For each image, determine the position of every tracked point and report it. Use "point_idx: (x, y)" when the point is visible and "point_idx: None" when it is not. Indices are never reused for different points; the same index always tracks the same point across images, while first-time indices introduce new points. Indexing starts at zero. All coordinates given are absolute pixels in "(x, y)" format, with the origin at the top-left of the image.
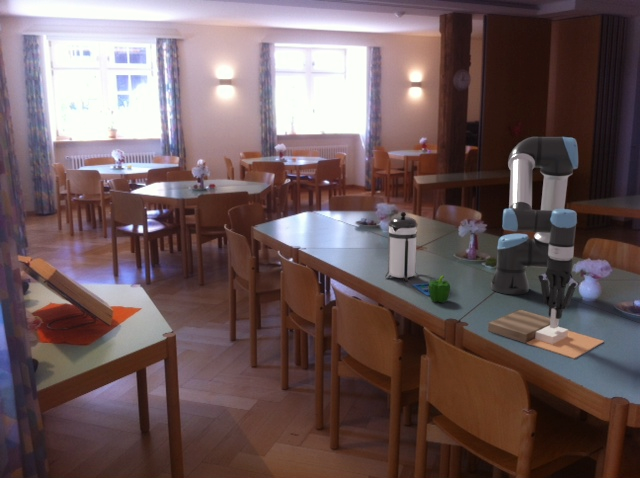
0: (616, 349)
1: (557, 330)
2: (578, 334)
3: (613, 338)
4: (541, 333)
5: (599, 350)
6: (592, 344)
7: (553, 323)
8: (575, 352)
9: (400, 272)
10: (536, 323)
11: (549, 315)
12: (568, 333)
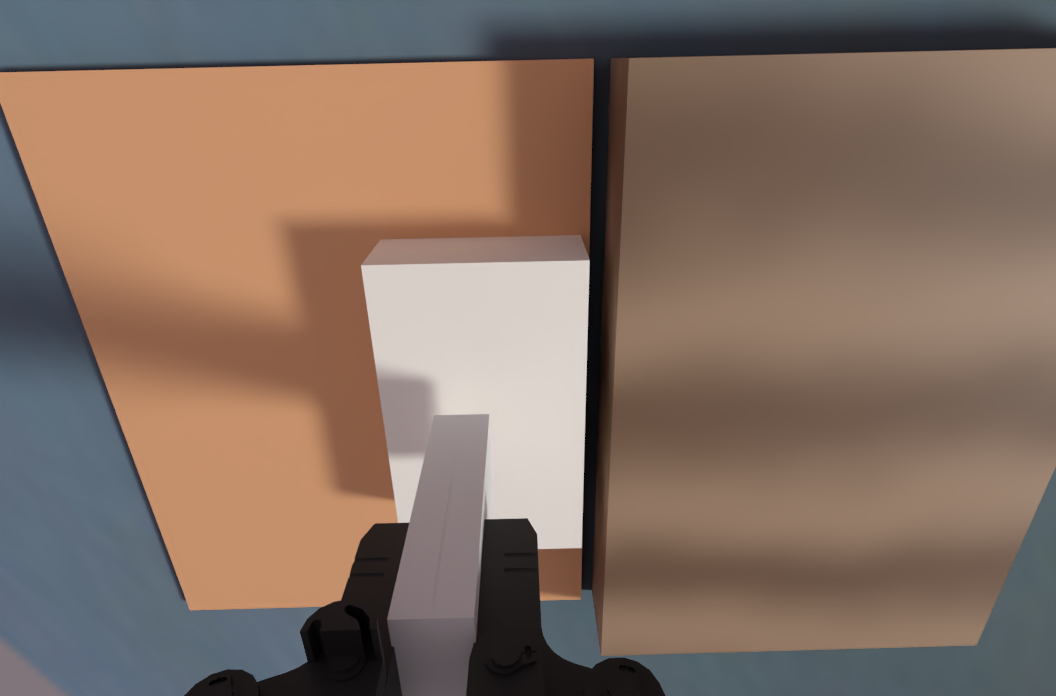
0: (43, 554)
1: None
2: None
3: None
4: (513, 265)
5: (82, 451)
6: (181, 501)
7: (438, 450)
8: (106, 227)
9: None
10: (702, 472)
11: (519, 530)
12: None
